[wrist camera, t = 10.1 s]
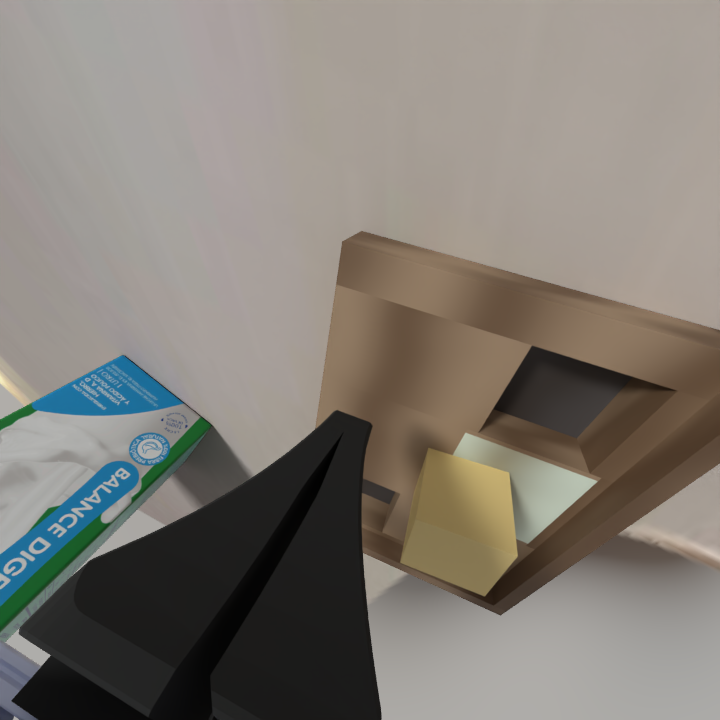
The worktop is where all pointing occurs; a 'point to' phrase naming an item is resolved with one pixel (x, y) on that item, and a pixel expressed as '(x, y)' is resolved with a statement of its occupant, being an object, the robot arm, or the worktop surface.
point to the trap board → (515, 401)
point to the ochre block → (461, 523)
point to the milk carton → (81, 475)
